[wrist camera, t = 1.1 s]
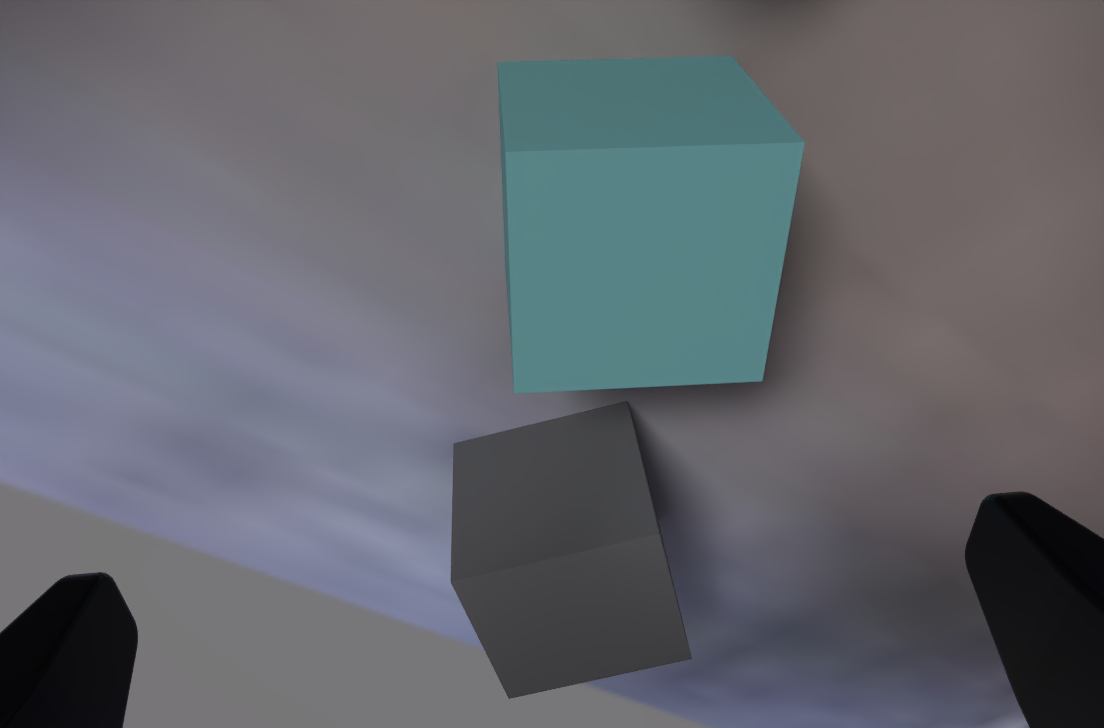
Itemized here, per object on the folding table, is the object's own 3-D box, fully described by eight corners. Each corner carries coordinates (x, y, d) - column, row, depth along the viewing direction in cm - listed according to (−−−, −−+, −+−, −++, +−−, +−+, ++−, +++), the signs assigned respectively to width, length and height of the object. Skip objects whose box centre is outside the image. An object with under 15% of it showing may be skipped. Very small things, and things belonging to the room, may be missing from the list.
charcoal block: (626, 399, 24) (659, 533, 20) (657, 519, 27) (691, 658, 23) (453, 441, 24) (450, 582, 20) (502, 556, 27) (508, 698, 23)
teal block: (730, 54, 18) (804, 141, 14) (706, 260, 21) (762, 381, 17) (497, 60, 18) (505, 151, 14) (505, 268, 21) (514, 393, 17)
